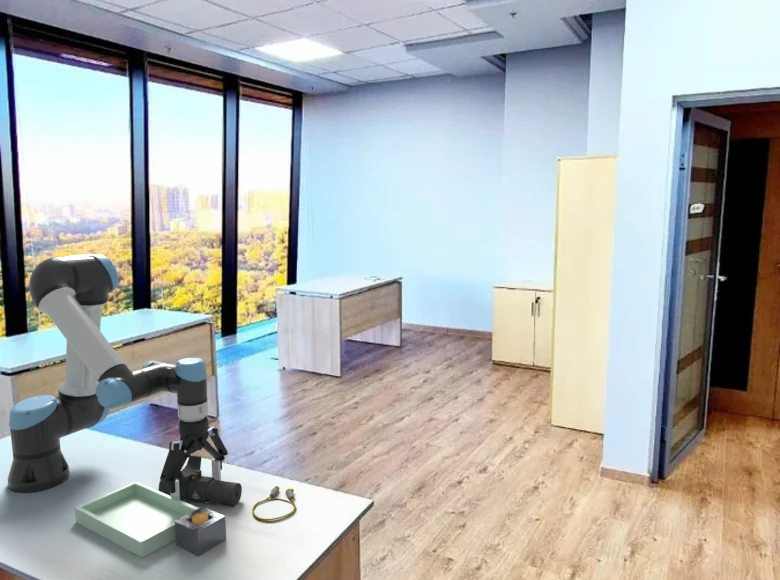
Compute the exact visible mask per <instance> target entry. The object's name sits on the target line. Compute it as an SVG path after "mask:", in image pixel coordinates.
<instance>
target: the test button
mask: <svg viewBox="0 0 780 580" xmlns="http://www.w3.org/2000/svg"><path fill="white" fill-rule="evenodd" d="M206 521H208V514H207V513H197V514H195V515H193V516H192V523H194V524H196V525H198V526H199V525H201V524H203V523H204V522H206Z"/></svg>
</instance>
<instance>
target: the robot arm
mask: <svg viewBox="0 0 780 580" xmlns="http://www.w3.org/2000/svg"><path fill="white" fill-rule="evenodd" d="M28 284H29V285H28V287H29V288H28V289H29V294H30V296H31V300H32V301H33V303H34V304H35V305H34V306H35V307H36V308H37V309H38V311H39V312H40V313H42V314H45V315H47V316H48V317H49V318H50V320H52V322H53V324H54V325H55V327H56V328H57V329H58V330H59V332H60V333H61V334H62V335H63V337H64V338H65V340H66V347H65V348H66V350H65V351H66V353H65V375H64V381H63V382H62V383H61V384H60V385H59V386H58V395H57V396H56V397H55V396H54V395H52V394H42V395H38V396H32V397H28V398H26V399H23V400H20V401H19V402H17V403H16V404H14V406H12V408H11V409H10V410H9V422H8V426H9V428H10V429H9V430H10V439H11V448H12V462H11V465H10V470H9V473H8V477H7V486H8V487H7V488H8V489H9V490H11V491H13V492H17V493H32V492H39V491H44V490H47V489H51V488H53V487H56V486H58V485H59V484H61V483H63V482H65V481H66V480H67V479H69V476H70V467H69V464H68V462H67V460H66V458H65V456H64V454H63V452H62V450H61V438H65V437H66V436H69V435H72V434H74V433H77V432H80V431H82V430H85V429H90V428H93V427H94V426H96V425H98V424H100V423H102V422H103V421H105V420H106V418H107V417H108V415H109V413H110V410H112V409H113V410H114V409H116V408H120V407H125V406H127V405H129V404H131V403H134V402H136V401H139V400H142V399H145V398H149V397H152V396H154V395H157V394H159V393H162V392H167V393H172V394H176V396H177V400H176V402H177V417H178V432H179V435H180V438H179V440H177V441H173V440H171V441H170V442H169V444H168V445H169V446H168V453H167V456H166V458H165V463H164V465H163V468H162V471H161V474H160V476H159V481H160V480H162V481H165V482H168V492H169V493H170V494H171V496H172V497H174V498H176V499H179V500H181V499H180V493H179V480H177V477H178V475H179V473H180V471H182V470H183V467H184V465H185V464H186V463H187V462H186V461H188V459H189V457H190V455H192V454H194V453H196V452H197V451H201V450H203V449H204V450H205V451H206V452H207V453H208V454H209V455H211V456H212V457H213V458H211V477H213V478H214V479H215V480H220V481H222V477H221V476H222V472H221V471H222V470H223V461H225V459H226V456H228V455H229V454H228V453H229V452H228V450H227V447H226V446H225V445H224V443H223V441H222V438H221V437H220V435H219V429H218V428H217V427H216V426H211V425H210V424H209V423H210V421H209V416H208V415H209V408H208V407H209V404H208V401H209V400H208V383H207V381H208V374H207V373H208V372H207V368H206V367H207V366H206V365H207V364H206V362H205V360H204V359H203V358H200V357H185V358H181V359H178V360H177V361H176V363H172V362H167V361H165V360H150V361H147V362H146V363H145V364H144V365H143V366H142V367H141V368H139V369H135V370H130V368H129V367H128V366H127V364H126V363H125V362H124V361H123V359H122V357H120V356H119V353H117V351H116V350H115V349H114V347H113V346H112V345H111V344H110V342H109V341H108V340H107V338H106V337H105V335H104V334H103V333H102V332H101V325H102V324H101V321H102V309H103V306H105V305H107V303H108V301H109V300H108V298H109V293H110V294H111V293H112V292H115V290H116V289H117V287H118V285H119V274H118V271H117V267H116V266H115V264H114V263H113V261H112V260H111V259H110V258H108V257H107V256H106V255H104V254H101V253H86V254H76V255H68V256H67V255H66V256H53V257H49V258H47V259H44V260H42V261H41V262H40V263H38V264H37V265H36V266H35V268H34V269H33V271H32V272H31V275H30V277H29V283H28ZM208 438H210V439H211V442H212V443H213V445H214V446H213V445H212V444H211V443H210V442H209V441H208ZM185 451H186V452H185ZM172 475H173V476H172Z"/></svg>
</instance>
